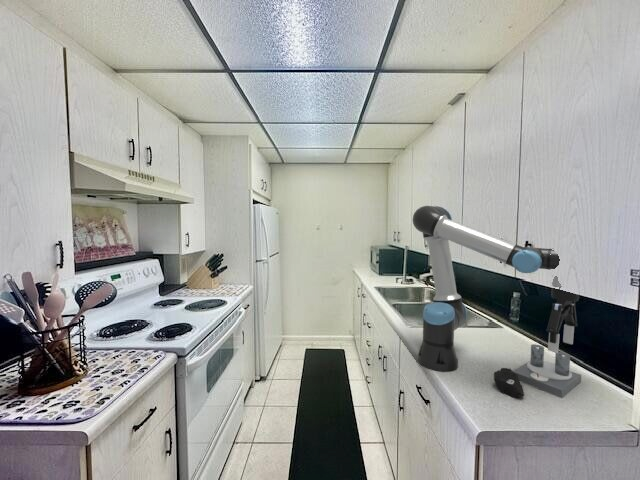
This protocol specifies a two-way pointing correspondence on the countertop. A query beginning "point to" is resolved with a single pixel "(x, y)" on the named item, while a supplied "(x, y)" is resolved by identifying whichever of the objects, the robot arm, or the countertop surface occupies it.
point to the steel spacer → (562, 363)
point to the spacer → (537, 355)
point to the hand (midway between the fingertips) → (560, 347)
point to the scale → (547, 378)
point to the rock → (508, 382)
